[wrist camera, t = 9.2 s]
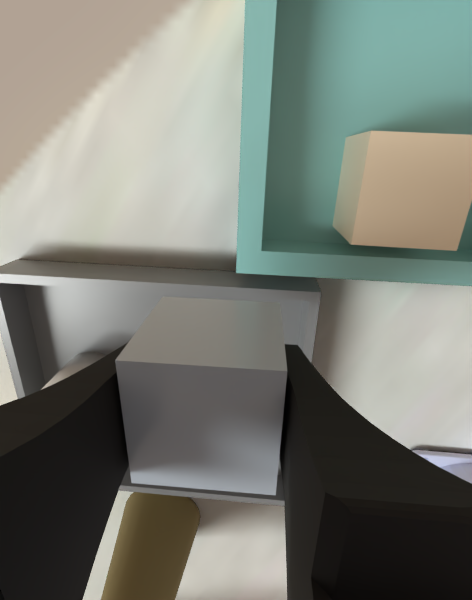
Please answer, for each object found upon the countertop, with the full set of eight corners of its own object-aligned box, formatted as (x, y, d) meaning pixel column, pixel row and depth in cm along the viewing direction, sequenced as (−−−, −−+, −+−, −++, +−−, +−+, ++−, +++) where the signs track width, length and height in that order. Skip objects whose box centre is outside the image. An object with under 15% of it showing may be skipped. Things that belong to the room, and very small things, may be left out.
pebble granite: (123, 354, 21) (98, 389, 18) (129, 406, 22) (106, 447, 19) (60, 349, 21) (24, 383, 18) (70, 401, 23) (38, 441, 19)
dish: (607, -70, 13) (702, -134, 10) (492, 269, 18) (534, 289, 15) (252, -69, 13) (249, -127, 11) (240, 255, 19) (236, 273, 16)
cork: (129, 534, 29) (55, 741, 18) (121, 482, 26) (31, 686, 16) (201, 541, 28) (165, 756, 18) (199, 489, 26) (156, 702, 16)
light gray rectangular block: (279, 302, 11) (287, 371, 8) (272, 399, 13) (275, 495, 9) (162, 296, 12) (114, 360, 8) (168, 392, 13) (131, 483, 10)
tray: (314, 275, 19) (321, 292, 16) (289, 474, 24) (291, 506, 22) (17, 259, 20) (-16, 272, 17) (60, 453, 26) (40, 482, 23)
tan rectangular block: (436, 140, 15) (491, 135, 12) (414, 230, 17) (456, 250, 13) (345, 137, 15) (371, 130, 12) (332, 226, 17) (351, 244, 13)
